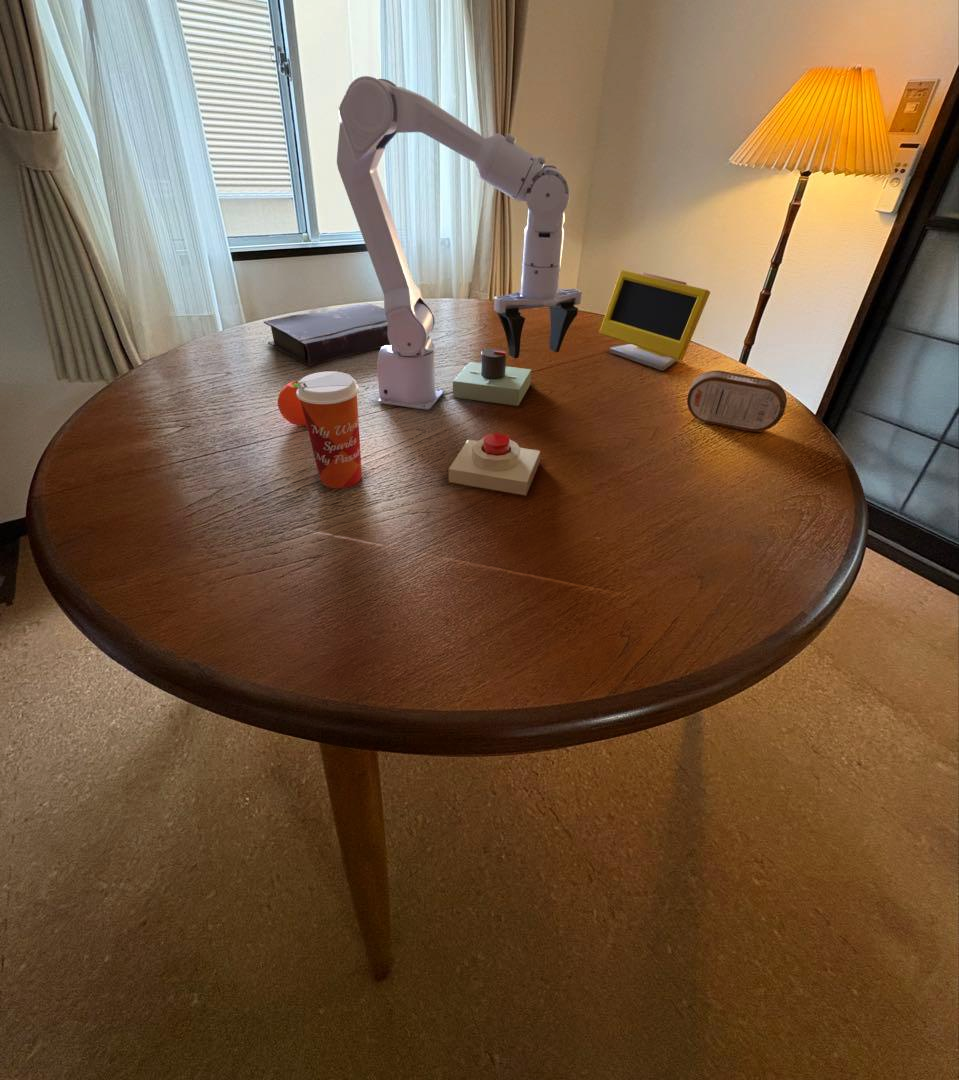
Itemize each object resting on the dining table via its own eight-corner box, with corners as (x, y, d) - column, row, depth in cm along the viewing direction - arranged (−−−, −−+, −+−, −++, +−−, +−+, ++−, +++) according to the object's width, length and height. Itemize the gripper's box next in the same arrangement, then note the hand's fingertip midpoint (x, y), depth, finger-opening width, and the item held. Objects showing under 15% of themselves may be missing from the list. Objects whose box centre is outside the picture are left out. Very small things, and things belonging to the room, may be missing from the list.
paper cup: (321, 498, 74) (302, 398, 65) (306, 471, 79) (288, 375, 71) (377, 484, 77) (367, 386, 68) (360, 459, 82) (348, 365, 74)
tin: (776, 430, 92) (795, 381, 87) (775, 438, 90) (794, 388, 85) (682, 412, 97) (695, 364, 92) (679, 419, 95) (692, 371, 90)
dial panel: (452, 397, 100) (452, 380, 98) (469, 376, 108) (469, 360, 106) (518, 406, 98) (519, 388, 96) (530, 384, 105) (531, 368, 104)
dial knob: (477, 377, 100) (478, 353, 97) (484, 368, 103) (485, 345, 101) (501, 380, 99) (502, 356, 96) (507, 371, 102) (509, 348, 100)
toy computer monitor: (596, 349, 122) (607, 270, 112) (618, 341, 126) (632, 265, 116) (674, 376, 110) (695, 291, 100) (697, 367, 114) (718, 285, 105)
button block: (448, 482, 78) (448, 457, 75) (467, 452, 84) (467, 428, 82) (525, 495, 75) (528, 470, 73) (539, 463, 82) (541, 439, 80)
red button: (480, 454, 77) (480, 443, 76) (487, 442, 79) (487, 431, 78) (505, 458, 76) (506, 447, 75) (511, 446, 79) (512, 435, 78)
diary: (412, 342, 123) (411, 318, 120) (310, 369, 109) (306, 343, 106) (364, 322, 134) (362, 299, 131) (266, 344, 120) (261, 320, 117)
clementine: (338, 425, 91) (332, 383, 86) (301, 440, 86) (293, 396, 82) (310, 410, 95) (303, 369, 90) (273, 423, 91) (264, 381, 86)
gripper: (511, 273, 79) (506, 367, 87) (597, 265, 84) (584, 355, 92) (489, 262, 84) (486, 352, 92) (571, 256, 89) (562, 342, 97)
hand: (534, 353), depth 93 cm, fingers open, 7 cm apart
